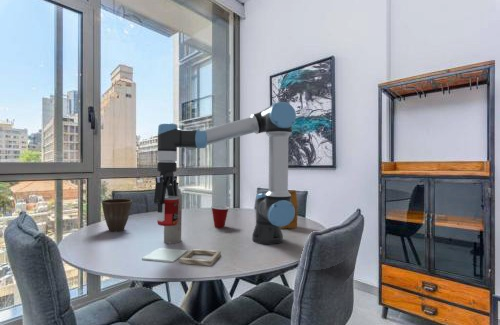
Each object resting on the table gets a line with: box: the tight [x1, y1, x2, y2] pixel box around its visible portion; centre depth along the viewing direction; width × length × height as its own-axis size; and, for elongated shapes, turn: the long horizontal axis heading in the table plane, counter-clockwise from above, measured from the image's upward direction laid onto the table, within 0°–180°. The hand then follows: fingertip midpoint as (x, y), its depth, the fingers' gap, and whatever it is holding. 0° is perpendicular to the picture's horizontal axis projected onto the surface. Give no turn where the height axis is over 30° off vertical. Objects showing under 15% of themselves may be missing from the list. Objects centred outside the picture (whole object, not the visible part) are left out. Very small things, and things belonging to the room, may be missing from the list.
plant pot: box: [101, 198, 133, 232], centre depth 154 cm, size 15×15×16 cm
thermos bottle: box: [163, 182, 183, 244], centre depth 135 cm, size 8×8×28 cm
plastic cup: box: [210, 205, 230, 229], centre depth 165 cm, size 11×11×12 cm
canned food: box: [156, 196, 179, 227], centre depth 113 cm, size 8×8×11 cm
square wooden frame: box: [178, 248, 222, 267], centre depth 111 cm, size 12×12×2 cm
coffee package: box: [280, 189, 299, 230], centre depth 167 cm, size 10×12×22 cm
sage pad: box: [141, 247, 188, 263], centre depth 114 cm, size 13×13×1 cm
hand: (166, 218), depth 114 cm, fingers closed on canned food, 8 cm apart
